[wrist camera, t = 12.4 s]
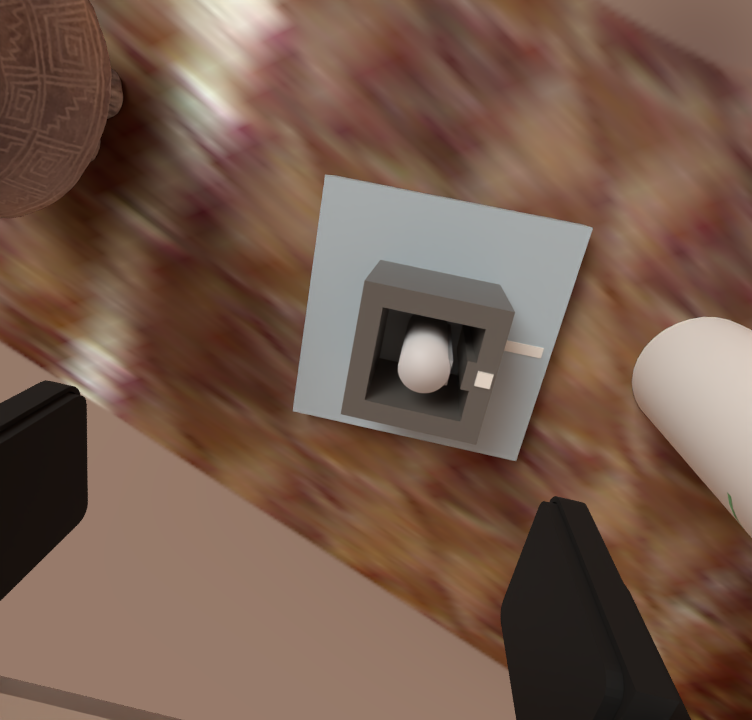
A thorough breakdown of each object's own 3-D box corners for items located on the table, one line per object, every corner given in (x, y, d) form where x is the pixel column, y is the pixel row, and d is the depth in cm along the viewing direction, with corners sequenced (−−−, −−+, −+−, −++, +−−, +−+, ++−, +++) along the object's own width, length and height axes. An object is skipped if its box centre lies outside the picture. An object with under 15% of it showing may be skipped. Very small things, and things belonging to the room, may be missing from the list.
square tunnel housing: (380, 259, 27) (364, 280, 22) (500, 284, 27) (515, 312, 21) (359, 369, 30) (340, 415, 24) (469, 394, 29) (476, 446, 24)
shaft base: (301, 397, 33) (256, 467, 25) (333, 175, 28) (290, 173, 20) (511, 444, 32) (534, 531, 24) (582, 224, 27) (639, 242, 19)
